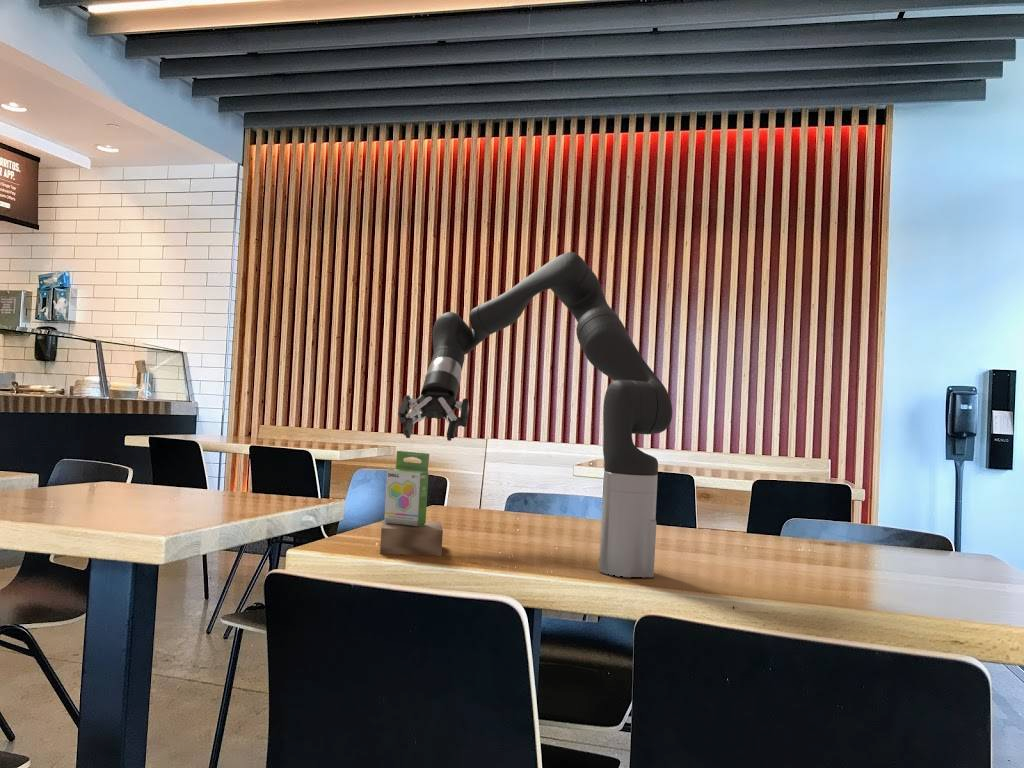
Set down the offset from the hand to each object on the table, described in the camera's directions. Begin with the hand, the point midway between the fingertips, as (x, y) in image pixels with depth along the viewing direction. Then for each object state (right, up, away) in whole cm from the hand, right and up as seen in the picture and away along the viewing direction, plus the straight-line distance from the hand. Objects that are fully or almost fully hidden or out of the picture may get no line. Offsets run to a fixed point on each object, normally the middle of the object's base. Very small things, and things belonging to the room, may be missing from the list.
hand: (427, 436), depth 162 cm
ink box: (-3, -16, -12) cm, 20 cm away
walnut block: (-2, -21, -12) cm, 24 cm away
